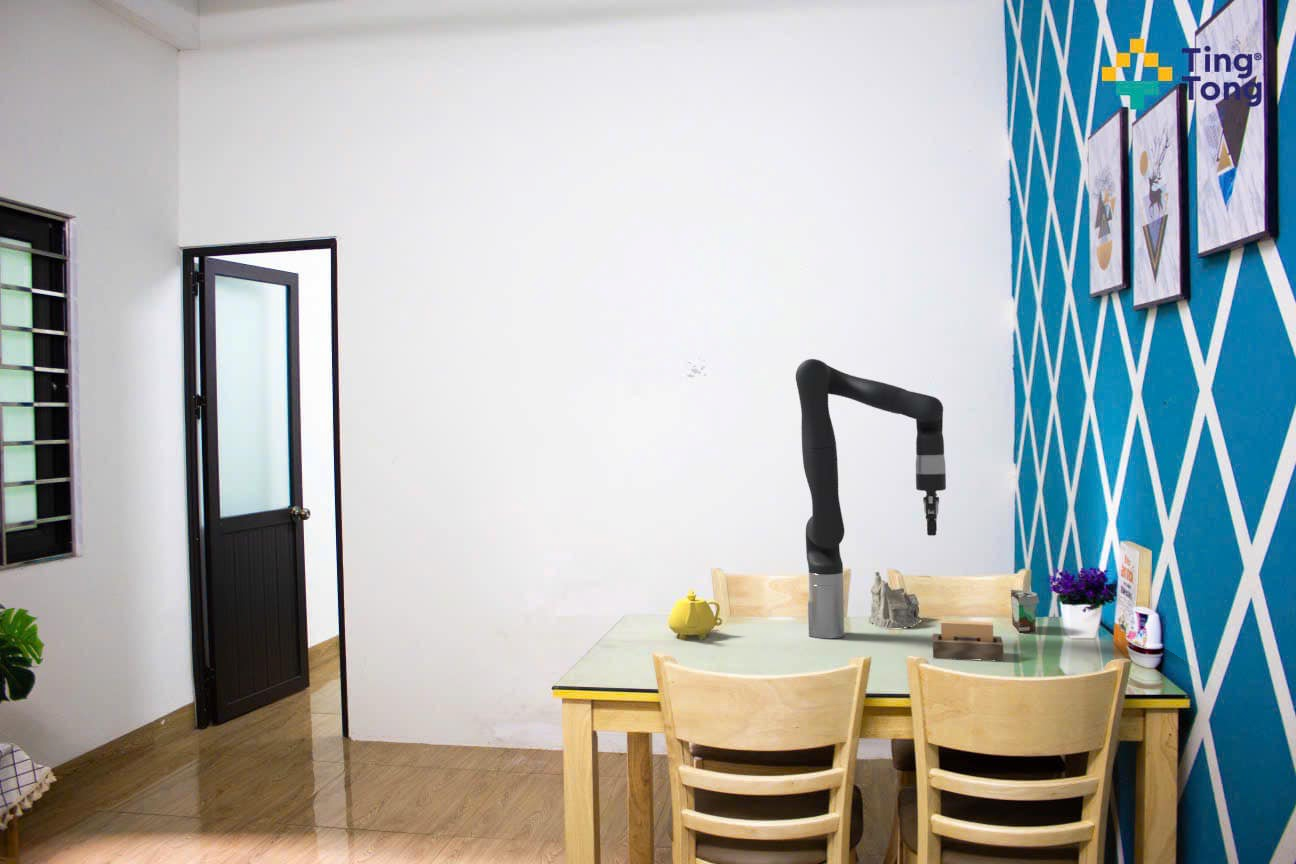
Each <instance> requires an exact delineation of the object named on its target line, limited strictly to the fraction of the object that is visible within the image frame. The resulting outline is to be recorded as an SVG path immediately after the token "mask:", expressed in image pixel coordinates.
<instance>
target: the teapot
mask: <svg viewBox="0 0 1296 864" xmlns="http://www.w3.org/2000/svg"><path fill="white" fill-rule="evenodd" d="M710 605H715V607H716V610H715V611H716V612H715V614H714V612H713V610H712V608H711V606H710ZM720 609H721V608H720V605H719V603H718V602H717V601H715V600H708V601H707V600H706V599H704V598H700V597H697V594H695V592H694V589H691V588H690V589H689V591H688V594H686V598H680V599H677V601H676V603H675V604H674V606H673V607H672V610H671V611H670V615H669V619H668V626H669V627H668V628H669V629H670V630H671V631H672V632H673V633H675V634H677V635H679V634H680V635H679V636H678V640H686V639H687V638H688V636H697V637H698V639H699V638H706V637H707V634H708V633H711V632H713V630H714V628H715V627H718V626H721V625H722V624H723V619H722V618H721V617H719V614H720ZM718 621H719V622H718ZM706 639H707V638H706Z"/></svg>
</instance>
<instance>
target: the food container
mask: <svg viewBox="0 0 1296 864" xmlns="http://www.w3.org/2000/svg"><path fill="white" fill-rule="evenodd" d="M1010 598H1011V599H1010V600H1011V622H1012V625H1013V626H1014V627H1015V628H1016V629H1017V631H1018V632H1019V633H1024V634H1032V633H1031V632H1033V633H1035V632H1036V620H1037V606H1038V604H1039V603H1040V600H1039V599H1040V598H1039V596H1038V594H1037V593H1036V592H1034V591H1030V590H1029V591H1028V590H1020V589H1011V590H1010ZM1013 626H1012V627H1013ZM1014 627H1013V628H1014ZM1017 631H1016V632H1017ZM1018 632H1017V633H1018ZM1019 633H1018V634H1019Z"/></svg>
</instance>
